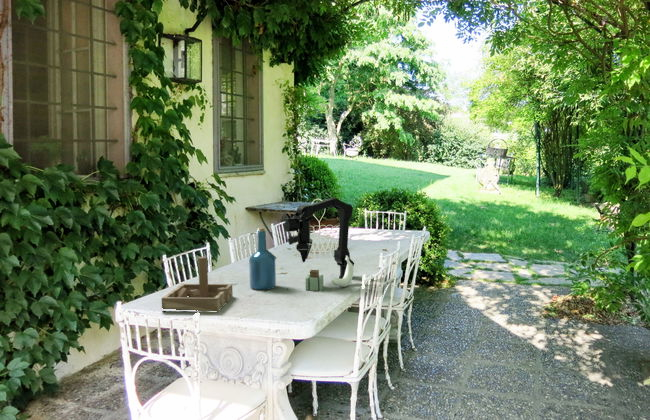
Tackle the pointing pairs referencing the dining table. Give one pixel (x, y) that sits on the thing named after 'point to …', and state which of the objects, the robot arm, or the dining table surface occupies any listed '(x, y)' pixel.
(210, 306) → the crate frame
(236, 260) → the dining table surface
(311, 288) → the green open frame
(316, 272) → the walnut peg
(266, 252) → the wine bottle
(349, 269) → the banana
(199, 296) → the wooden blocks
